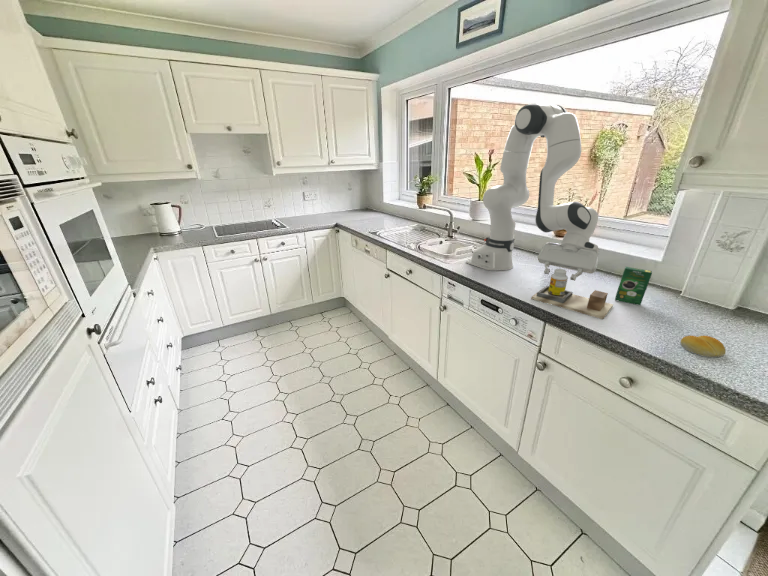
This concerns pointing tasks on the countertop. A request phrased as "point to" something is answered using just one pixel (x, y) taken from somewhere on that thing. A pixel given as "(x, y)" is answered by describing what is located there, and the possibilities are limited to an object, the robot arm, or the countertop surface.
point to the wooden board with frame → (577, 302)
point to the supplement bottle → (558, 283)
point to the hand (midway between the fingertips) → (558, 276)
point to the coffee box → (633, 285)
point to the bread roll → (703, 346)
